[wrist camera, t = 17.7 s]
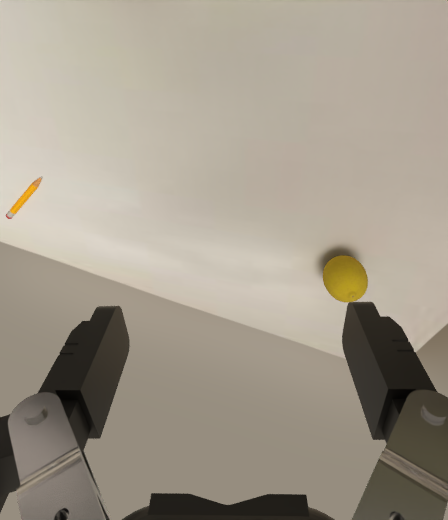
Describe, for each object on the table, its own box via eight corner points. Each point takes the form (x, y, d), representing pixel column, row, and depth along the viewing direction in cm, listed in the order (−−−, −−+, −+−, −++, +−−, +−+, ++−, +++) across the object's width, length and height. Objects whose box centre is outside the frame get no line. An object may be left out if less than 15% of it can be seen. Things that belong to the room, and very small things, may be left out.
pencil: (7, 213, 49) (4, 215, 49) (41, 173, 46) (38, 175, 46) (12, 217, 50) (9, 219, 49) (46, 177, 46) (43, 179, 46)
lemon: (340, 283, 54) (355, 319, 47) (310, 267, 52) (321, 303, 46) (365, 255, 51) (385, 290, 44) (334, 238, 50) (349, 271, 43)
